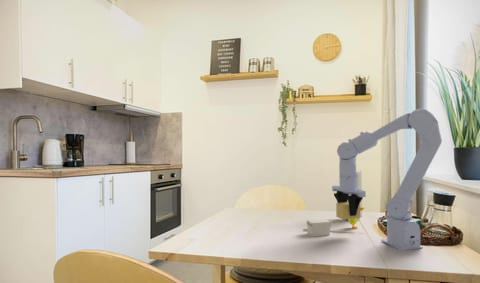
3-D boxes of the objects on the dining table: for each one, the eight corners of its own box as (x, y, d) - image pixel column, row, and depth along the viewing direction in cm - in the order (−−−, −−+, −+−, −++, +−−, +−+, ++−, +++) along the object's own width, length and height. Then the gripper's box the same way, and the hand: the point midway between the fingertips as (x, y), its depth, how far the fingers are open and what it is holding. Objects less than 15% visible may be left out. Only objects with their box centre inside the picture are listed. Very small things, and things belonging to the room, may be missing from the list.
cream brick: (330, 235, 111) (330, 221, 111) (311, 237, 109) (311, 223, 109) (324, 232, 115) (324, 219, 115) (307, 233, 113) (306, 220, 113)
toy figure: (364, 228, 121) (364, 198, 121) (363, 230, 118) (363, 199, 118) (346, 226, 124) (346, 196, 124) (345, 228, 121) (345, 198, 121)
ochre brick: (360, 217, 108) (359, 203, 108) (342, 219, 107) (342, 205, 107) (353, 215, 112) (352, 201, 112) (336, 216, 110) (336, 202, 110)
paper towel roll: (345, 219, 135) (345, 171, 134) (344, 216, 140) (344, 170, 140) (362, 220, 132) (362, 171, 132) (361, 217, 138) (361, 170, 138)
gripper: (372, 177, 104) (372, 217, 104) (342, 173, 118) (342, 208, 118) (356, 178, 102) (356, 219, 102) (327, 174, 115) (327, 210, 115)
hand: (348, 214), depth 109 cm, fingers closed on ochre brick, 4 cm apart
